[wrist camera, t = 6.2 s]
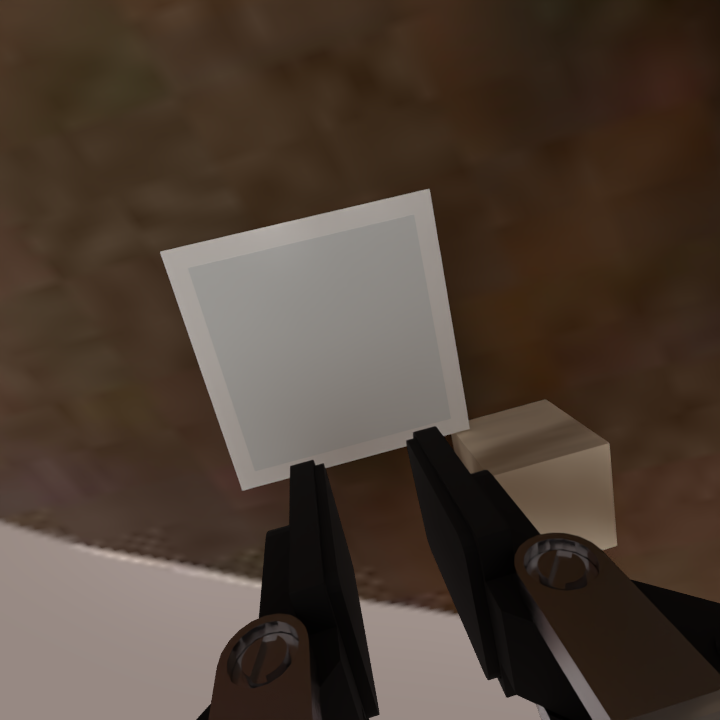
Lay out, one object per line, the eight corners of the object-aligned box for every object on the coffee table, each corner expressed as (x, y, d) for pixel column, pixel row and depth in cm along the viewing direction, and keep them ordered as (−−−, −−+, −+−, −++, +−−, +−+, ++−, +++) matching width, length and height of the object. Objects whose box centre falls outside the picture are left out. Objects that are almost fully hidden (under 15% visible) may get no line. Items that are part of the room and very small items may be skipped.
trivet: (166, 250, 23) (159, 252, 21) (422, 190, 24) (430, 188, 22) (244, 479, 27) (242, 492, 25) (462, 420, 27) (470, 429, 26)
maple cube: (609, 443, 22) (544, 398, 28) (489, 476, 22) (449, 424, 28) (617, 545, 24) (554, 484, 30) (506, 578, 24) (464, 510, 29)
